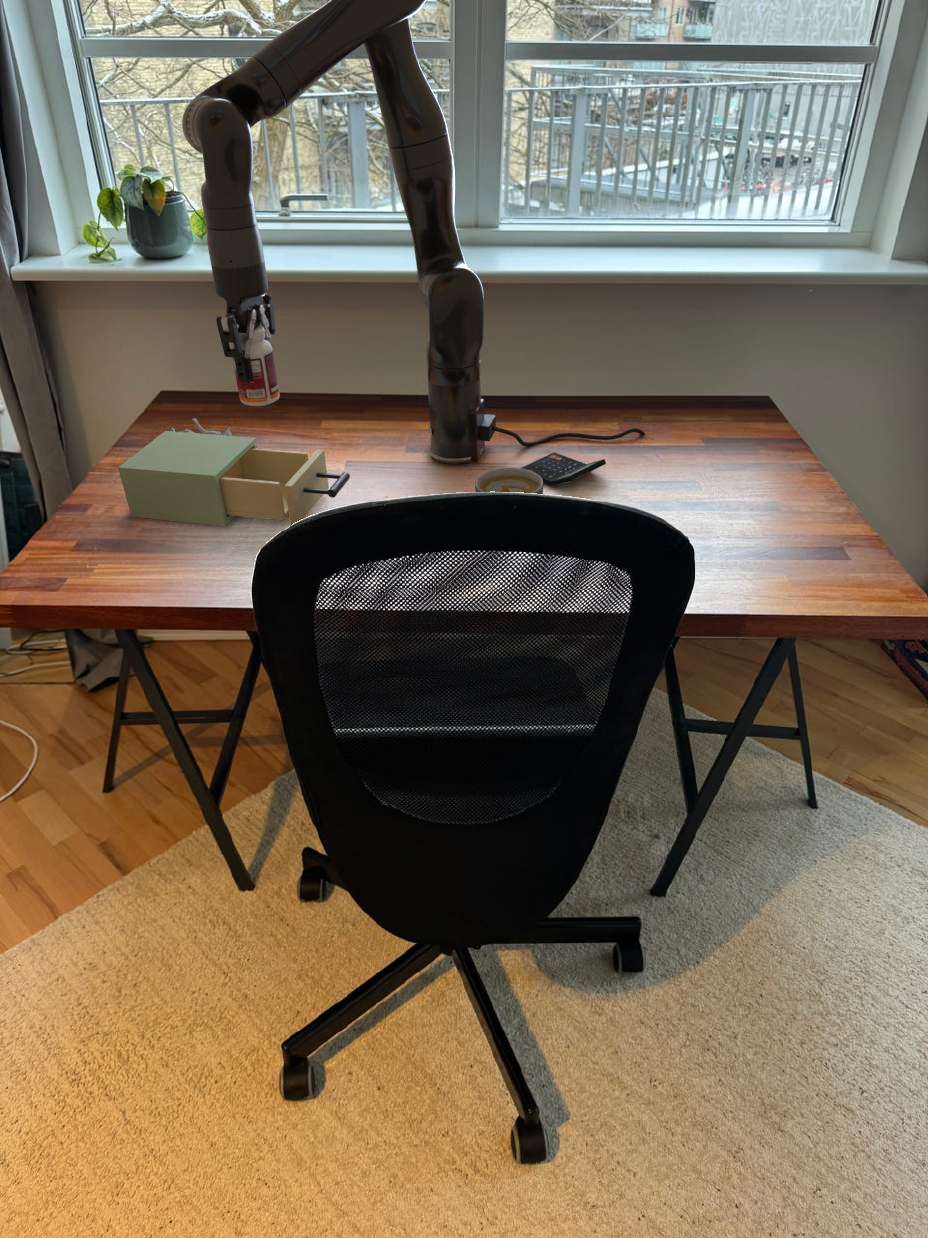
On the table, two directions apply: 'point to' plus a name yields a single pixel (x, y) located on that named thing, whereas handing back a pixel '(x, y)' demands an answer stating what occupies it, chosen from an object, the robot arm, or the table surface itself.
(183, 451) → the cabinet
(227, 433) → the soldier figure
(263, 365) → the pill bottle
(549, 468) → the calculator
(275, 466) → the drawer
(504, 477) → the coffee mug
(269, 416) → the table surface
